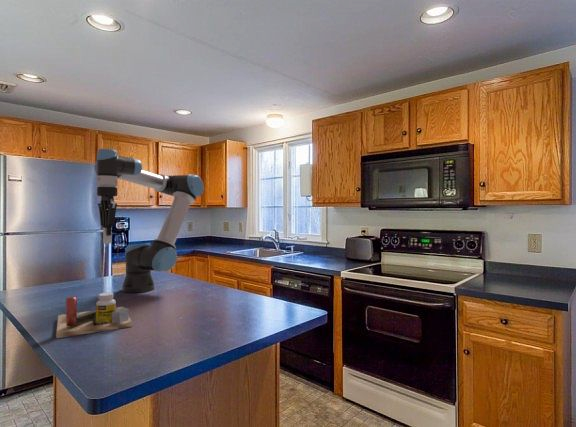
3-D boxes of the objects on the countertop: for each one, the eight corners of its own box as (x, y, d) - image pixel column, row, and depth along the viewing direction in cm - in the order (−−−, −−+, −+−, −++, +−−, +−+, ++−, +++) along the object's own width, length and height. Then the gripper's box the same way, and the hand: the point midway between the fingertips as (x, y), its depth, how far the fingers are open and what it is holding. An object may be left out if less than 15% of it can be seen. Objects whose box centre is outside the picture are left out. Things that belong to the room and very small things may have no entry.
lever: (103, 311, 132) (103, 287, 132) (110, 312, 131) (110, 288, 131) (63, 325, 116) (63, 298, 116) (71, 326, 115) (71, 299, 115)
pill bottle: (95, 329, 120) (95, 296, 120) (96, 323, 125) (95, 292, 125) (116, 326, 123) (115, 294, 123) (115, 321, 128) (115, 291, 128)
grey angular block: (120, 323, 126) (120, 307, 126) (128, 323, 126) (128, 308, 125) (111, 328, 121) (111, 311, 121) (119, 328, 121) (119, 312, 121)
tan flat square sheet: (123, 310, 142) (123, 305, 142) (131, 326, 123) (131, 320, 123) (58, 319, 130) (58, 314, 130) (56, 338, 111) (56, 332, 111)
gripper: (91, 186, 148) (91, 242, 148) (104, 185, 140) (104, 245, 140) (109, 187, 154) (109, 241, 154) (123, 186, 145) (123, 243, 146)
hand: (107, 243), depth 147 cm, fingers closed
